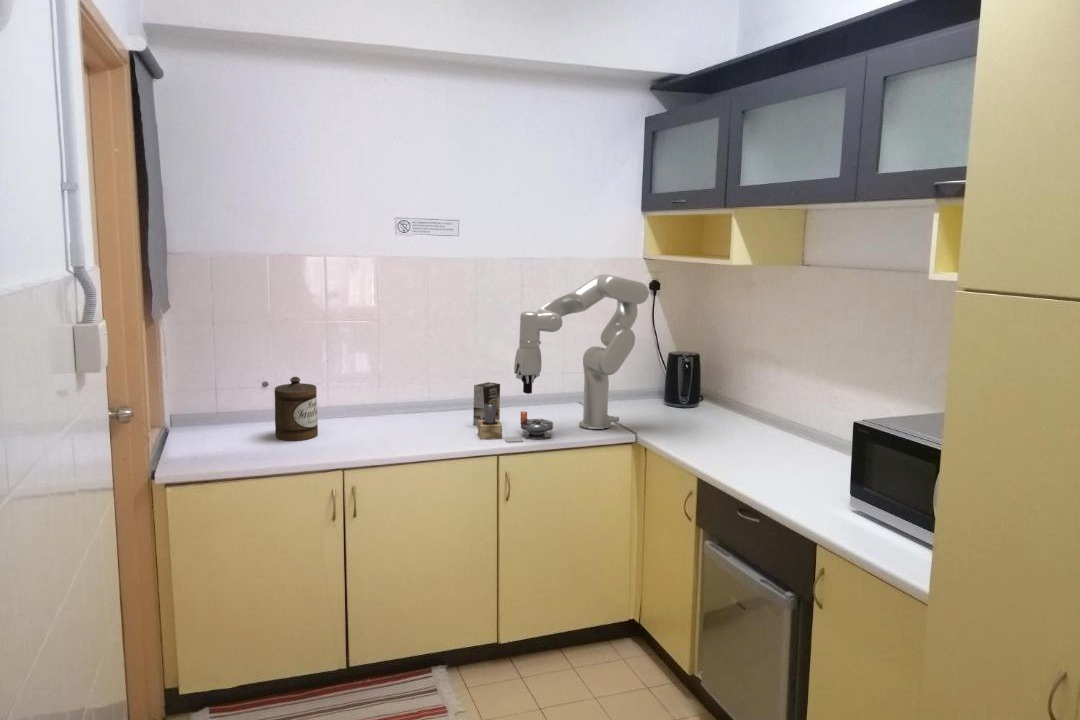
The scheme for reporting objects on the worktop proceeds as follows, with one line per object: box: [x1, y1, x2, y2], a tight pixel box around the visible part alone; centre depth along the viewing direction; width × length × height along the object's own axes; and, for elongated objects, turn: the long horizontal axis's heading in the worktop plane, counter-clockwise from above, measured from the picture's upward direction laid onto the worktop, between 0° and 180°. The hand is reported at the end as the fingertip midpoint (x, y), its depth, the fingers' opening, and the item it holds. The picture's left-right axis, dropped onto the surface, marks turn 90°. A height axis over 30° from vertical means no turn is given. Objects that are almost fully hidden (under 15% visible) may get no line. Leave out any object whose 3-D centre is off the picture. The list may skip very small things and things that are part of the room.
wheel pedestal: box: [522, 430, 552, 440], centre depth 295 cm, size 9×9×3 cm
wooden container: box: [274, 376, 319, 442], centre depth 286 cm, size 15×15×22 cm
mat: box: [504, 436, 524, 443], centre depth 288 cm, size 6×6×1 cm
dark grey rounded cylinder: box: [485, 403, 496, 425], centre depth 292 cm, size 4×4×12 cm
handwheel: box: [520, 411, 554, 432], centre depth 294 cm, size 12×12×6 cm
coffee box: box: [472, 381, 501, 427], centre depth 308 cm, size 9×6×16 cm
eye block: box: [477, 420, 503, 440], centre depth 292 cm, size 8×8×5 cm
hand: (527, 392), depth 295 cm, fingers closed
